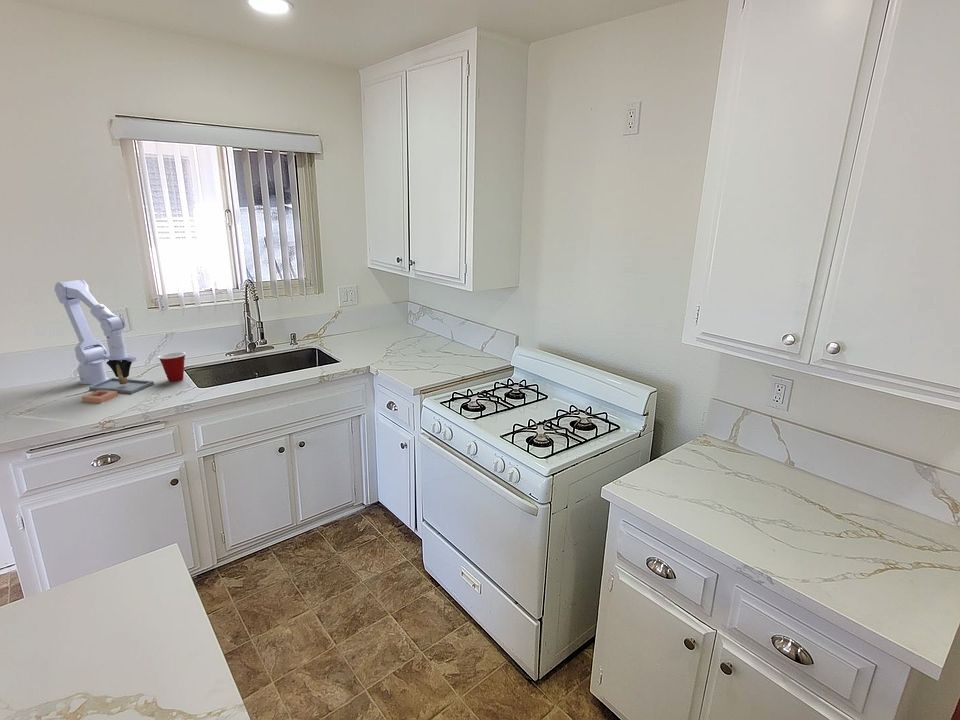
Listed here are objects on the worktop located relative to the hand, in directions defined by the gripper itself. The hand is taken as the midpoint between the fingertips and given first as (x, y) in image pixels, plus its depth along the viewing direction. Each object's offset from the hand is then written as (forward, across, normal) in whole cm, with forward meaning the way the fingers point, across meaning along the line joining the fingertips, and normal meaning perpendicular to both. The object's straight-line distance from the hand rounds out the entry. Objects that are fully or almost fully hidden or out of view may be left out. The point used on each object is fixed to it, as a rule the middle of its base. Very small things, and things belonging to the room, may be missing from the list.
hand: (122, 376), depth 220 cm
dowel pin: (+3, 0, 0) cm, 3 cm away
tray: (+5, -1, 0) cm, 5 cm away
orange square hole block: (+5, +1, -13) cm, 14 cm away
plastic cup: (+5, +13, +14) cm, 20 cm away
